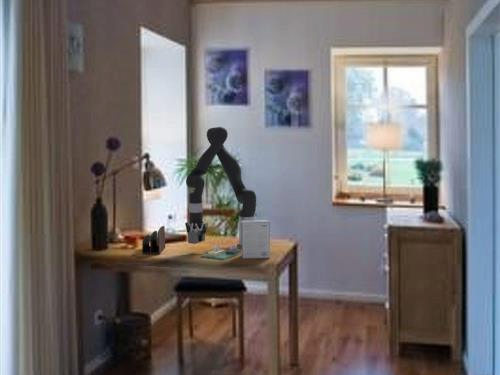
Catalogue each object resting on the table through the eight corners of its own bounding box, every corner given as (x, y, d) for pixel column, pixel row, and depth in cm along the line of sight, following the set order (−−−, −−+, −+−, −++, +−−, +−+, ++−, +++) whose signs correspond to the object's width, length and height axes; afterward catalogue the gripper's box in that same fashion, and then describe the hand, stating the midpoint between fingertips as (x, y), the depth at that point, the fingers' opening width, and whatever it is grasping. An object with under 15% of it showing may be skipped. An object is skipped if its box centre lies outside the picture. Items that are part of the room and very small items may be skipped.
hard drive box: (269, 255, 368) (269, 220, 365) (270, 258, 360) (270, 222, 358) (241, 255, 367) (241, 220, 365) (241, 258, 359) (241, 222, 357)
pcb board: (219, 251, 378) (219, 241, 378) (240, 253, 371) (240, 244, 371) (202, 257, 363) (202, 247, 362) (223, 259, 356) (223, 249, 355)
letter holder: (165, 248, 387) (165, 224, 386) (159, 255, 368) (159, 230, 366) (148, 248, 388) (148, 224, 386) (141, 255, 368) (141, 230, 367)
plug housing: (198, 239, 378) (197, 229, 377) (204, 240, 376) (204, 230, 375) (188, 243, 369) (187, 232, 369) (194, 243, 367) (194, 233, 366)
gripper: (210, 210, 370) (210, 240, 372) (189, 209, 377) (189, 238, 379) (202, 212, 364) (203, 243, 366) (181, 211, 371) (182, 241, 373)
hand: (196, 240), depth 372 cm, fingers closed on plug housing, 4 cm apart
